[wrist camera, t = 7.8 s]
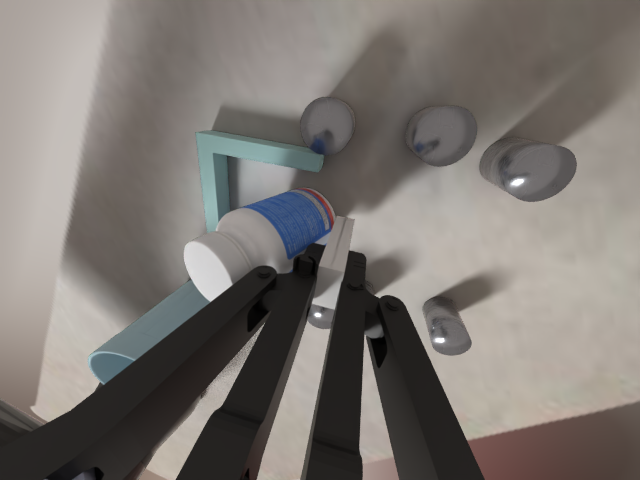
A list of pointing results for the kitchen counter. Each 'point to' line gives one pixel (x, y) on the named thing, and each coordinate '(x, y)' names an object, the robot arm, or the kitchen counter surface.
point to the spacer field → (441, 150)
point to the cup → (146, 332)
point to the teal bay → (221, 144)
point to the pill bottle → (258, 239)
